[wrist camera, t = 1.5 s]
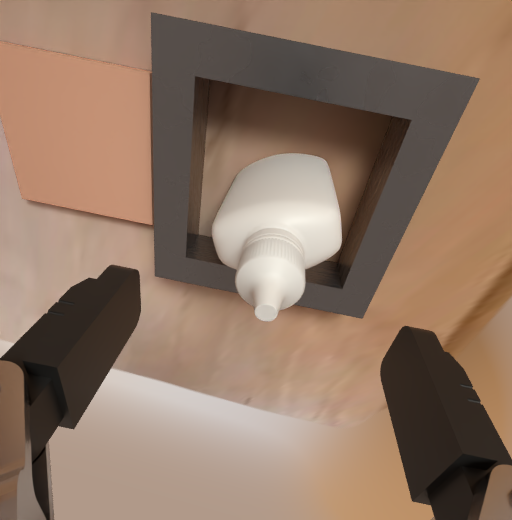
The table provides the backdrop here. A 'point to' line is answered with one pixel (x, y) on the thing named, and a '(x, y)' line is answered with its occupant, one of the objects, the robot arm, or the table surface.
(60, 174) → the terracotta tile
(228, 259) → the eye dropper bottle
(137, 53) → the table surface
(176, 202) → the socket plate
